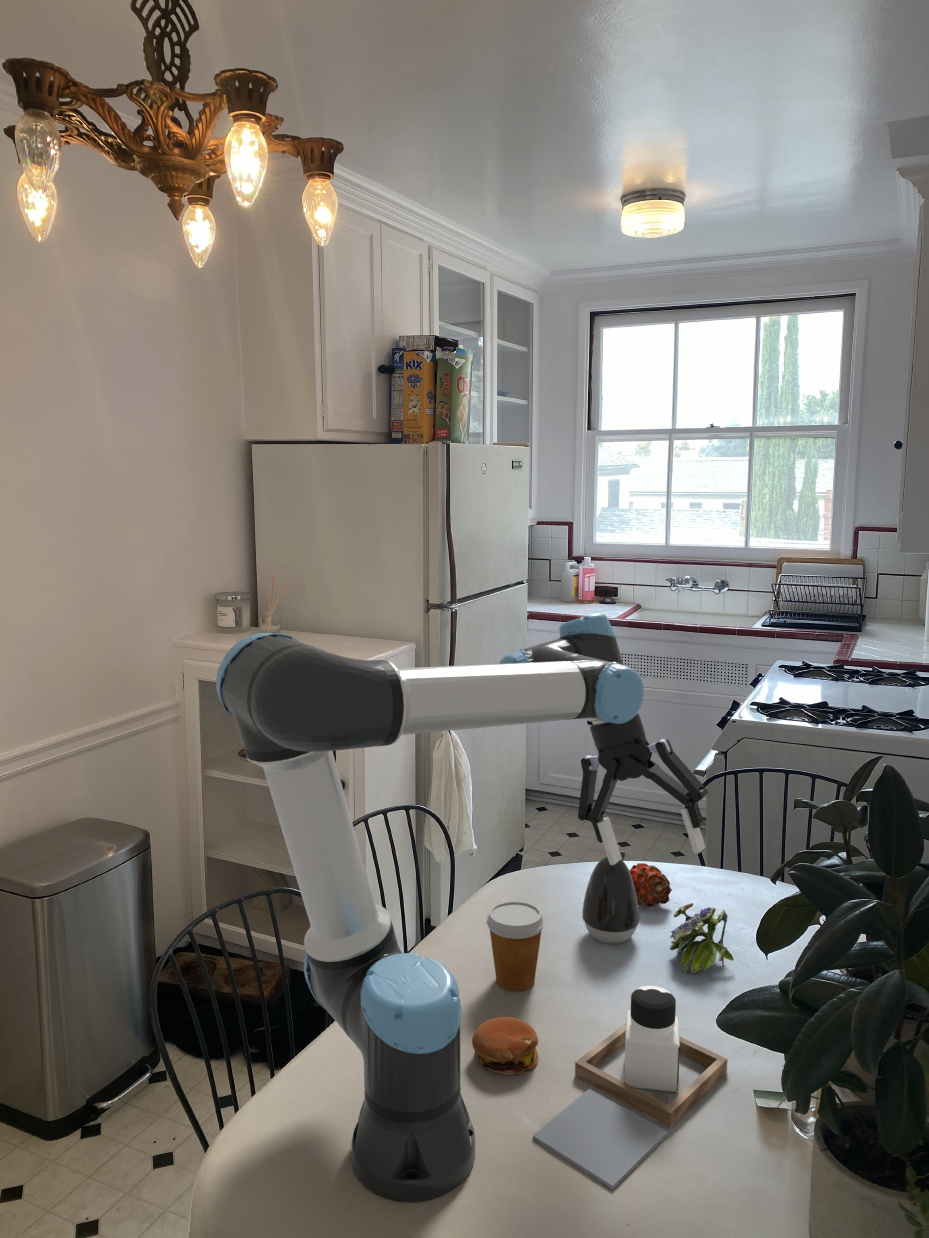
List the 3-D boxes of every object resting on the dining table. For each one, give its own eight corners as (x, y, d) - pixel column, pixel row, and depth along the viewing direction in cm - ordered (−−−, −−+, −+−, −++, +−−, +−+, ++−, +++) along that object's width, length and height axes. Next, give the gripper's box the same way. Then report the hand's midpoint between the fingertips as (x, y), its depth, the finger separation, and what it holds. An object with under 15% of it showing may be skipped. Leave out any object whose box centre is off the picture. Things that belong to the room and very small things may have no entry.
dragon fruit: (671, 923, 171) (617, 912, 179) (686, 884, 176) (633, 876, 184) (654, 896, 167) (600, 887, 175) (670, 858, 172) (616, 851, 180)
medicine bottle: (678, 1094, 122) (680, 1011, 120) (624, 1087, 123) (626, 1005, 121) (676, 1060, 128) (679, 982, 127) (625, 1054, 130) (627, 977, 128)
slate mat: (612, 1189, 105) (612, 1185, 105) (532, 1138, 113) (532, 1135, 113) (667, 1135, 114) (667, 1132, 114) (589, 1091, 122) (589, 1088, 122)
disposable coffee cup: (515, 1004, 142) (515, 933, 141) (474, 979, 150) (474, 911, 148) (556, 982, 149) (557, 913, 147) (515, 959, 156) (515, 894, 154)
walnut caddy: (670, 1127, 115) (670, 1113, 115) (575, 1075, 125) (575, 1061, 125) (726, 1071, 126) (727, 1058, 126) (635, 1027, 136) (635, 1015, 136)
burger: (482, 1033, 135) (482, 1004, 135) (543, 1043, 133) (544, 1014, 132) (465, 1075, 126) (465, 1044, 125) (531, 1086, 124) (531, 1055, 123)
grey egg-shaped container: (648, 931, 165) (650, 852, 163) (626, 956, 156) (627, 873, 154) (596, 917, 170) (597, 840, 168) (572, 941, 162) (573, 860, 159)
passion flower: (681, 979, 159) (686, 910, 164) (743, 987, 153) (746, 914, 158) (656, 968, 151) (662, 895, 156) (720, 975, 145) (724, 899, 150)
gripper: (700, 693, 130) (745, 836, 128) (554, 728, 144) (594, 857, 142) (681, 703, 123) (729, 854, 122) (531, 739, 137) (572, 874, 136)
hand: (656, 856), depth 132 cm, fingers open, 13 cm apart
